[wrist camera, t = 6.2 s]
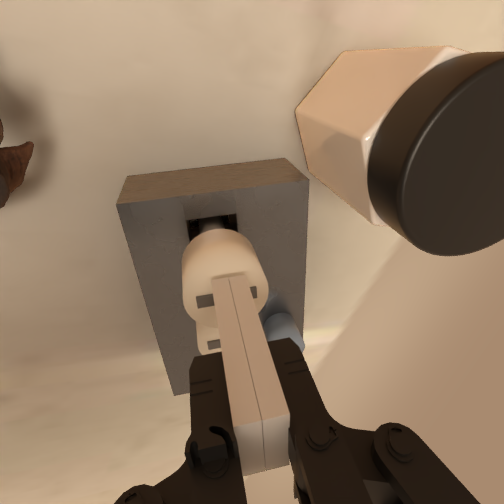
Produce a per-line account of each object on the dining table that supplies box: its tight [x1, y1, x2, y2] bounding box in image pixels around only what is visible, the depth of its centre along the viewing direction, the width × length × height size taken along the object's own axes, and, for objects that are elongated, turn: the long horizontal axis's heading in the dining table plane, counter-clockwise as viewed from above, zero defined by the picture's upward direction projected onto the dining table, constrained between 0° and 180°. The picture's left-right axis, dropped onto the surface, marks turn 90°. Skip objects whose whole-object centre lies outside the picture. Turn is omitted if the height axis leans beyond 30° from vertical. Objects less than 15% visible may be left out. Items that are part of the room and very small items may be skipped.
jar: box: [295, 46, 504, 256], centre depth 18 cm, size 9×8×12 cm
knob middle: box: [196, 322, 222, 355], centre depth 23 cm, size 4×4×8 cm
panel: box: [116, 158, 309, 396], centre depth 24 cm, size 11×17×5 cm, turn 4°
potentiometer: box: [264, 313, 305, 352], centre depth 22 cm, size 2×2×4 cm
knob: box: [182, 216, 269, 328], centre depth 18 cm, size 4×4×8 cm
